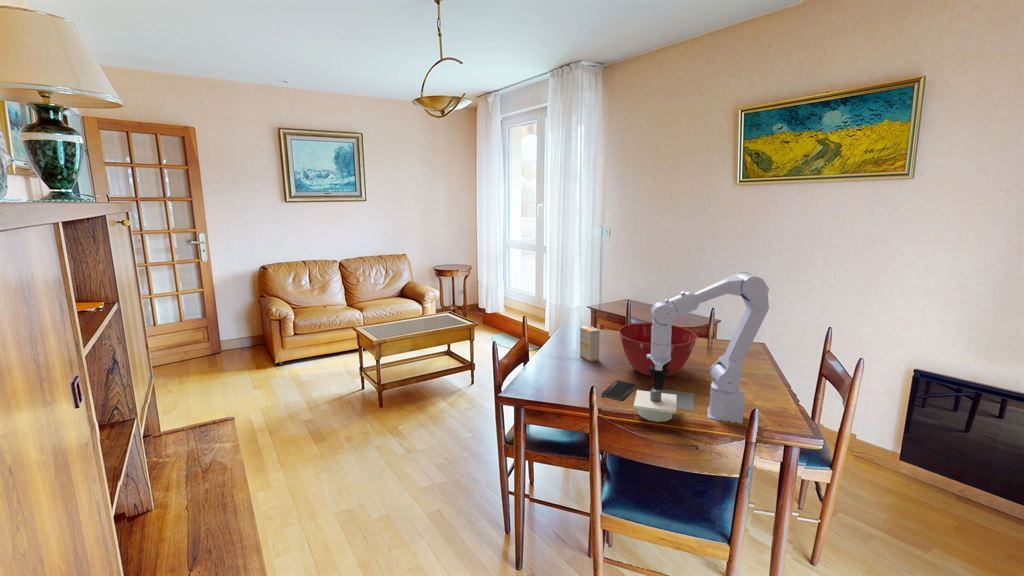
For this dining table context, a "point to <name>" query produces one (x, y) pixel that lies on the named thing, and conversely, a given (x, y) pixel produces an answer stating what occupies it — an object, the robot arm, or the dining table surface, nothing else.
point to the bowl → (655, 415)
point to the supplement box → (589, 343)
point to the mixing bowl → (639, 346)
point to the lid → (655, 401)
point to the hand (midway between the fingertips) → (659, 384)
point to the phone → (619, 390)
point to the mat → (682, 399)
